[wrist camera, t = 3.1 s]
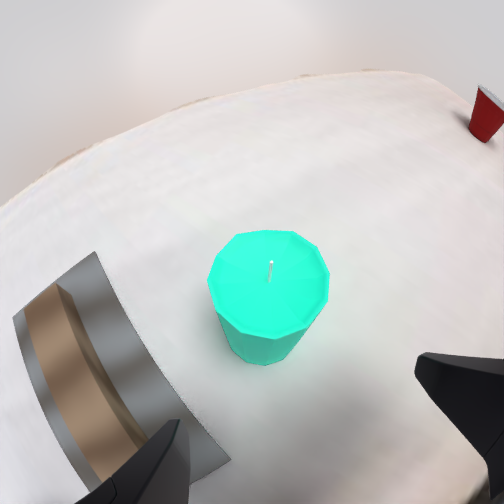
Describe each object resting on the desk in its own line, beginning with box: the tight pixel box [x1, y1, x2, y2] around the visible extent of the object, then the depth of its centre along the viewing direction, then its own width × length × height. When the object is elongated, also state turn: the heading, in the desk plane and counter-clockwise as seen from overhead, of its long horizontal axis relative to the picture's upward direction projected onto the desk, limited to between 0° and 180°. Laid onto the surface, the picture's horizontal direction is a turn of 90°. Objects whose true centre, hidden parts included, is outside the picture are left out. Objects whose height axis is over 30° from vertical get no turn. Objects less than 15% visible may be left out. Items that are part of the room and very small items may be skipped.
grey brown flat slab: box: [13, 251, 231, 493], centre depth 18 cm, size 24×14×3 cm, turn 39°
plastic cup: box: [469, 84, 504, 143], centre depth 37 cm, size 11×11×12 cm
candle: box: [207, 230, 330, 366], centre depth 17 cm, size 6×6×12 cm
